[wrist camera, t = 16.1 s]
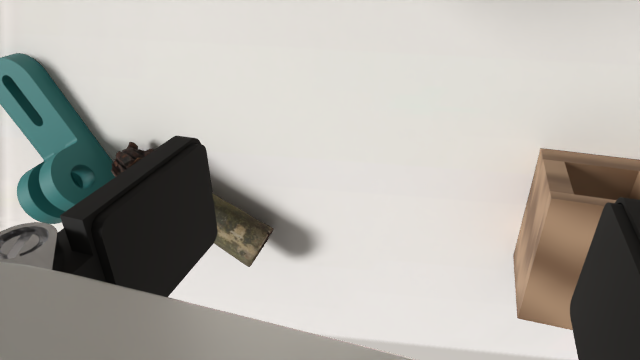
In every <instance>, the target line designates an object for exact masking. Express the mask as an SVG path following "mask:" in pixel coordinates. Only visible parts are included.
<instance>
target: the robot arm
mask: <svg viewBox="0 0 640 360" xmlns="http://www.w3.org/2000/svg"><path fill="white" fill-rule="evenodd" d="M60 218H61V220H62V223H63V226H64V229H62V230H61V231H60V232H58V233H57V230H56V228H55V227H54V226H52V225H50V224H47V223H38V222H34V223H26V224H21V225H17V226H13V227H10V228H8V229H6V230H3V231H1V232H0V360H417V359H413V358H409V357H405V356H401V355H397V354H393V353H389V352H385V351H381V350H377V349H373V348H369V347H365V346H361V345H357V344H353V343H349V342H345V341H341V340H337V339H333V338H329V337H325V336H321V335H317V334H313V333H309V332H305V331H301V330H297V329H293V328H289V327H285V326H281V325H277V324H273V323H269V322H265V321H261V320H257V319H253V318H249V317H245V316H241V315H237V314H233V313H229V312H225V311H221V310H217V309H213V308H209V307H205V306H200V305H196V304H192V303H188V302H184V301H180V300H176V299H172V298H168V296H169V295H170V294H171V292H172V291H173V290H174V289H175V288H176V287H177V285H178V284H179V283H180V282H181V281H182V280H183V278H184V277H185V276H186V275H187V274H188V273H189V271H190V270H191V269H192V268H193V267H194V265H195V264H196V263H197V262H198V261H199V260H200V258H201V257H202V256H203V255H204V254H205V253H206V251H207V250H208V249H209V248H210V247H211V246H212V244H213V243H214V242H215V240H216V237H217V232H218V231H217V222H216V215H215V208H214V201H213V194H212V187H211V180H210V173H209V166H208V159H207V152H206V148H205V146H204V145H201V143H200V141H199V140H198V139H196V138H189V137H182V136H175V137H173V138H171V139H170V140H168V141H167V142H165V143H164V144H163V145H161V146H160V147H158V148H157V149H155V150H154V151H152V152H151V153H150V154H148V155H147V156H145V157H144V158H142V159H141V160H139V161H138V162H136V163H135V164H134V165H132V166H131V167H129V168H128V169H126V170H125V171H123V172H122V173H121V174H119V175H118V176H116V177H115V178H113V179H112V180H110V181H109V182H108V183H106V184H105V185H103V186H102V187H100V188H99V189H97V190H96V191H95V192H93V193H92V194H90V195H89V196H87V197H86V198H84V199H83V200H82V201H80V202H79V203H77V204H76V205H74V206H73V207H71V208H70V209H69V210H67V211H66V212H64V213H63V214H61V215H60ZM570 318H571V323H572V328H573V333H574V338H575V344H576V349H577V354H578V359H579V360H640V200H637V199H630V198H623V197H620V198H618V199H617V201H616V202H615V203H609V202H608V203H606V204H605V206H604V208H603V211H602V214H601V216H600V219H599V222H598V225H597V228H596V231H595V233H594V236H593V239H592V242H591V245H590V248H589V250H588V253H587V256H586V259H585V262H584V265H583V267H582V270H581V273H580V276H579V279H578V282H577V284H576V287H575V290H574V293H573V296H572V299H571V303H570Z"/></svg>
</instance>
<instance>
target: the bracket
mask: <svg viewBox="0 0 640 360" xmlns="http://www.w3.org/2000/svg"><path fill="white" fill-rule="evenodd" d="M0 104H1V105H2V107H3V108H4V109H5V111H6V112H7V113H8V114H9V116H10V117H11V118H12V119H13V121H14V122H15V123H16V125H17V126H18V127H19V128H20V130H21V131H22V132H23V134H24V135H25V136H26V137H27V139H28V140H29V141H30V142H31V144H32V145H33V146H34V148H35V149H36V150H37V151H38V153H39V154H40V155H41V157H42V158H43V159H44V162H42V163H41V164H39V165H37V166H36V167H34V168H32V169H31V170H29V171H28V172H26V173H25V174H24V175H23V176H22V177H21V179H20V181H19V183H18V187H17V196H18V200H19V203H20V205H21V207H22V208H23V210H24V211H25V212H26V213H27V214H28V215H29V216H31V217H32V218H33V219H35V220H37V221H40V222H43V223H47V224H56V223H61V222H62V220H61V218H60V215H61V214H63V213H64V212H66V211H67V210H69V209H70V208H71V207H73V206H74V205H76V204H77V203H79V202H80V201H82V200H83V199H84V198H86V197H87V196H89V195H90V194H92V193H93V192H95V191H96V190H97V189H99V188H100V187H102V186H103V185H105V184H106V183H108V182H109V181H110V180H112V179H113V178H115V176H114V175H113V173H112V172H111V169H112V164H111V163H113V161H112V160H111V159H110V157H109V156H108V155H107V153H106V152H105V151H104V149H103V148H102V146H101V145H100V144H99V142H98V141H97V140H96V138H95V137H94V136H93V134H92V133H91V131H90V130H89V129H88V127H87V126H86V125H85V123H84V122H83V121H82V119H81V118H80V116H79V115H78V114H77V112H76V111H75V110H74V108H73V107H72V106H71V104H70V103H69V101H68V100H67V99H66V97H65V96H64V95H63V93H62V92H61V91H60V89H59V88H58V86H57V85H56V84H55V82H54V81H53V80H52V78H51V77H50V76H49V74H48V73H47V71H46V70H45V69H44V68H43V67H42V65H41V64H39V63H38V62H37V61H36V60H35V59H33V58H32V57H30V56H28V55H25V54H20V53H16V54H12V55H9V56H5V57H1V58H0Z"/></svg>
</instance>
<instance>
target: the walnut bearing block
mask: <svg viewBox="0 0 640 360" xmlns="http://www.w3.org/2000/svg"><path fill="white" fill-rule="evenodd" d="M620 197H623V198H630V199H637V200H640V160H635V159H626V158H618V157H609V156H601V155H593V154H584V153H576V152H567V151H559V150H550V149H542V148H541V149H540V153H539V157H538V161H537V165H536V169H535V173H534V177H533V181H532V185H531V189H530V193H529V197H528V201H527V204H526V208H525V212H524V216H523V220H522V224H521V228H520V232H519V236H518V240H517V244H516V248H515V252H514V256H513V257H514V273H515V288H516V303H517V318H519V319H523V320H528V321H533V322H537V323H542V324H547V325H552V326H556V327H561V328H566V329H570V330H573V328H572V323H571V318H570V303H571V299H572V296H573V293H574V290H575V287H576V284H577V282H578V279H579V276H580V273H581V270H582V267H583V265H584V262H585V259H586V256H587V253H588V250H589V248H590V245H591V242H592V239H593V236H594V233H595V231H596V228H597V225H598V222H599V219H600V216H601V214H602V211H603V208H604V206H605V204H606V203H608V202H609V203H615V202H616V201H617V199H618V198H620Z"/></svg>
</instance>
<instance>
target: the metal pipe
mask: <svg viewBox="0 0 640 360" xmlns="http://www.w3.org/2000/svg"><path fill="white" fill-rule="evenodd" d="M152 151H154V150H153V149H149V150H147V151H142V150H138V146H137V145H136V144H135V143H133V142H129V145H128V147H127V149H125V150H123V151H122V152H120V151H119V152H118V153H117V154H116V159H114V160H115V161H114V163H111V164H112V169H111V172H112V173H113V175H114V176H115V177H116V176H118V175H119V174H121V173H122V172H123V171H125V170H126V169H128V168H129V167H131V166H132V165H134V164H135V163H136V162H138V161H139V160H141V159H142V158H144V157H145V156H147V155H148V154H150V153H151V152H152ZM212 194H213V193H212ZM213 201H214V208H215V215H216V222H217V231H218V232H217V237H216V240H215V242H214V243H215V244H216V245H217V246H219V247H220V248H222V249H223V250H225V251H226V252H227V253H229V254H230V255H232V256H233V257H235V258H236V259H238V260H239V261H240V262H242V263H243V264H245V265H246V266H248V267H250V266H251V265H252V263H253V262H254V260H255V258H256V257H257V255H258V254H259V252H260V251H261V249H262V248H263V247H264V244H265V243H266V242H267V240H268V238H269V236H270V234H271V233H272V231H273V228H272V227H270V226H268V225H266V224H265V223H263V222H261V221H259V220H258V219H256V218H254V217H252V216H251V215H249V214H247V213H246V212H244V211H242V210H241V209H239V208H237V207H235V206H234V205H232V204H230V203H228V202H226V201H224V200H223V199H221V198H220V197H218V196H216V195H215V194H213Z"/></svg>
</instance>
